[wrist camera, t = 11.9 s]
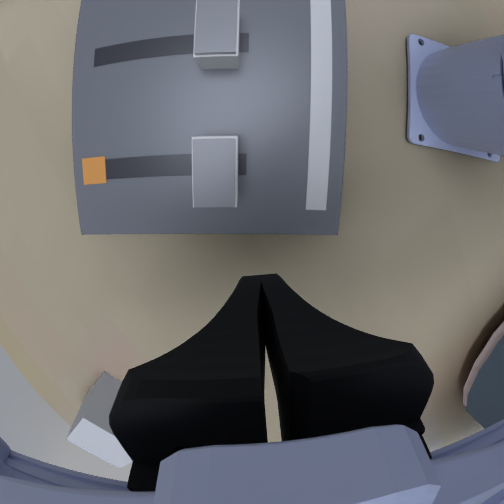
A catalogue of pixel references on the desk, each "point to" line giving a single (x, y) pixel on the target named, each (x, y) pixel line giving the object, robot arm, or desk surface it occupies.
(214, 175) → the block
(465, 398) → the desk lamp
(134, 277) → the desk surface
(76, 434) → the grey cube
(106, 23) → the panel
